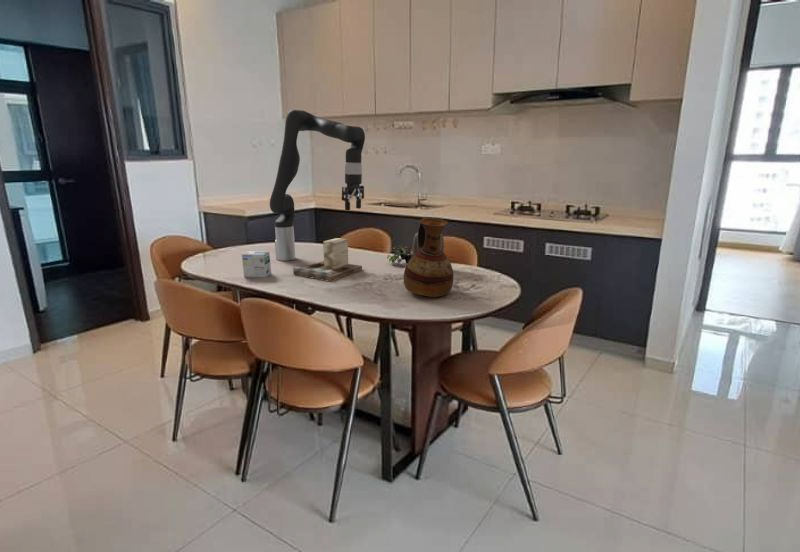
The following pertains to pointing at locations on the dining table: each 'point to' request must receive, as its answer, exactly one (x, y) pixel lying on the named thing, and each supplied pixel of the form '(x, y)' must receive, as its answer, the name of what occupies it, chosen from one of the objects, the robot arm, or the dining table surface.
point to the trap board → (326, 271)
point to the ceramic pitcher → (429, 262)
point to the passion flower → (402, 253)
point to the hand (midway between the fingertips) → (353, 209)
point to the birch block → (335, 252)
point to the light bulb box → (256, 264)
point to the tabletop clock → (415, 242)
